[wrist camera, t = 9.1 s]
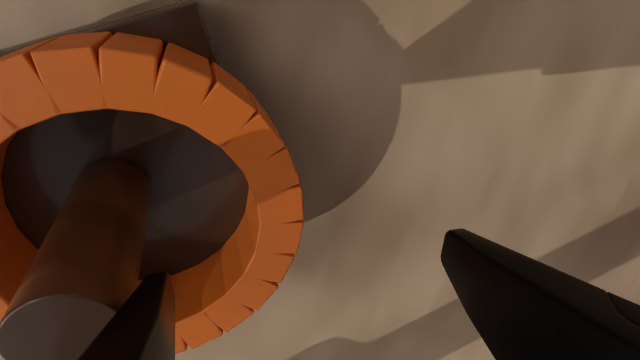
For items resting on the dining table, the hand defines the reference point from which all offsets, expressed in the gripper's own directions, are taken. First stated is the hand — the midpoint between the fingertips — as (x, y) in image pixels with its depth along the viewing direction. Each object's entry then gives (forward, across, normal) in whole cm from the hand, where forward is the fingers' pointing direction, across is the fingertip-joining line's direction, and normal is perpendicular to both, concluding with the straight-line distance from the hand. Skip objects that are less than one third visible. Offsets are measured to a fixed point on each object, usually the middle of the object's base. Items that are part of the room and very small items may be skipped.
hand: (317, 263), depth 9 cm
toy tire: (+5, +5, 0) cm, 7 cm away
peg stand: (+6, +6, 0) cm, 9 cm away
